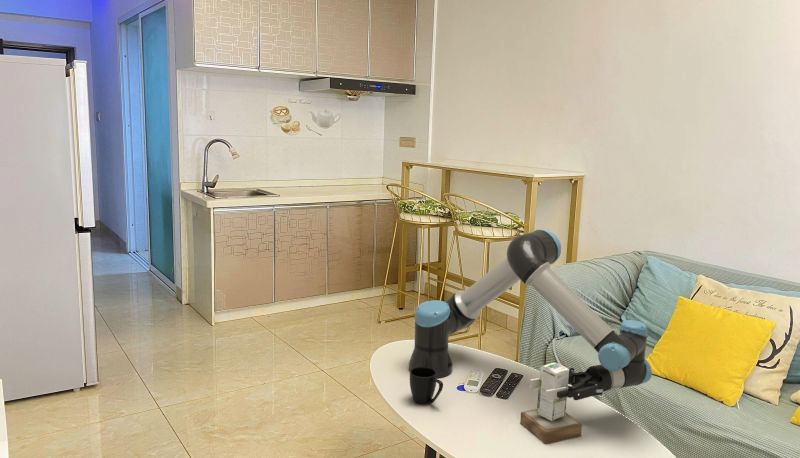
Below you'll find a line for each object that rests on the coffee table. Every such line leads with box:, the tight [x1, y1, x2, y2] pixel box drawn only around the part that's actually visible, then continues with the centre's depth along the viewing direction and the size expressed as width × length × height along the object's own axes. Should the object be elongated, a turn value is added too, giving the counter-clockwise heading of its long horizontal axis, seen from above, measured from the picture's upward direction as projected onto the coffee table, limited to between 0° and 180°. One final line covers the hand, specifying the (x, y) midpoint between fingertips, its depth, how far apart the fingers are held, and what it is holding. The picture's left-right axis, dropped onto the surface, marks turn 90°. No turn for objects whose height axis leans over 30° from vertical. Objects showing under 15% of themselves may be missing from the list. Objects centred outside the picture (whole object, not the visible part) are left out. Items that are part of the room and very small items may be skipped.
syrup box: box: [536, 362, 569, 421], centre depth 170 cm, size 6×6×14 cm
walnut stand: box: [519, 408, 583, 445], centre depth 171 cm, size 12×12×4 cm
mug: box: [409, 367, 444, 406], centre depth 185 cm, size 8×12×10 cm
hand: (538, 389), depth 167 cm, fingers closed on syrup box, 6 cm apart
